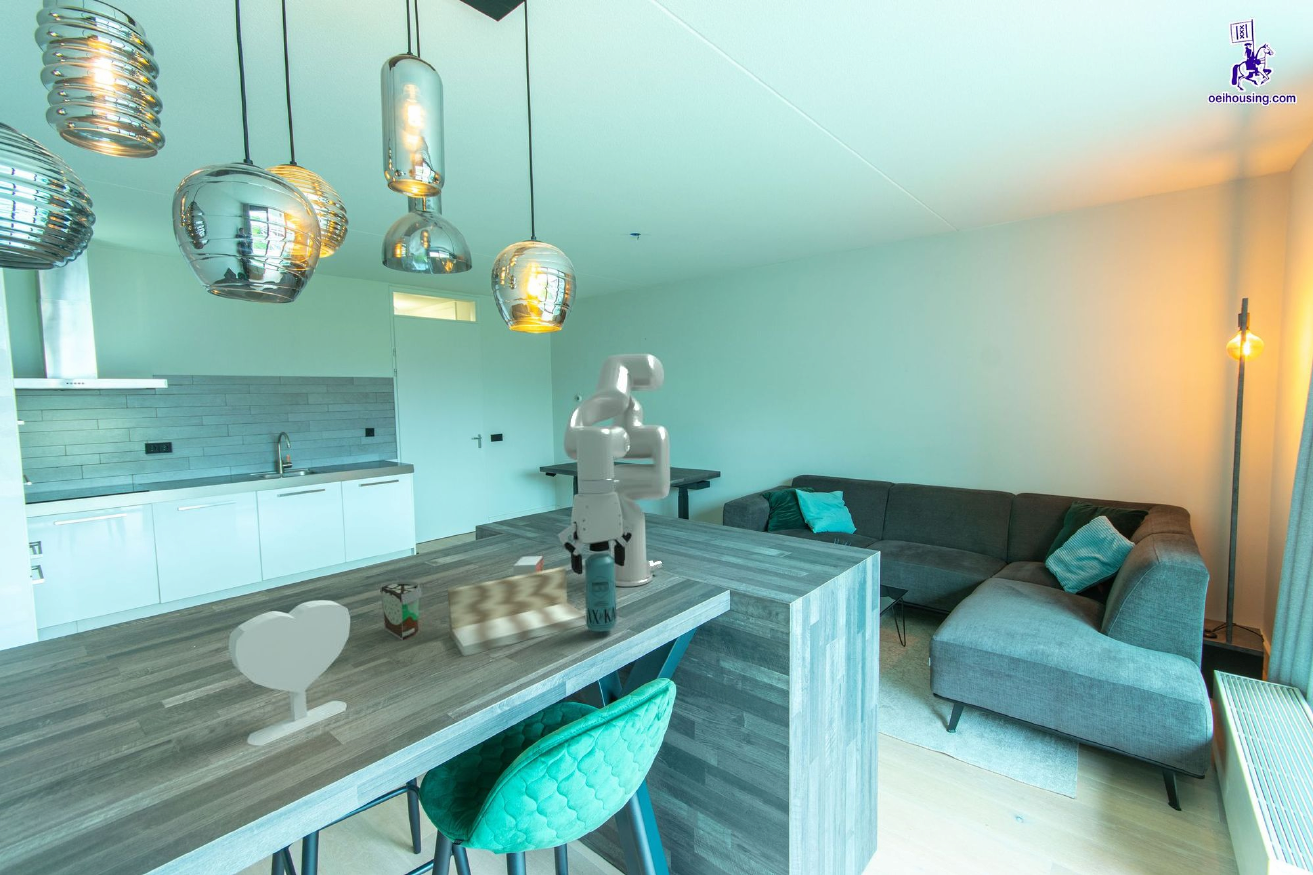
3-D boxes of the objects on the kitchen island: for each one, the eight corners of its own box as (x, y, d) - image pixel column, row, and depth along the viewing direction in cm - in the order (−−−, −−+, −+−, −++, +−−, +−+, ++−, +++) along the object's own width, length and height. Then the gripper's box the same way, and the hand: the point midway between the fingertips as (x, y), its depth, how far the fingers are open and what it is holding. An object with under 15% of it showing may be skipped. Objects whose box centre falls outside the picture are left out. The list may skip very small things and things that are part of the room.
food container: (434, 632, 121) (431, 587, 120) (405, 642, 116) (402, 595, 116) (409, 618, 129) (407, 576, 129) (382, 627, 125) (379, 583, 124)
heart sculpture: (345, 695, 95) (338, 592, 94) (358, 705, 92) (350, 598, 91) (234, 739, 83) (224, 622, 82) (244, 752, 80) (234, 630, 79)
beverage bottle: (582, 629, 120) (578, 537, 119) (612, 624, 122) (608, 533, 121) (591, 641, 114) (587, 544, 113) (622, 635, 116) (618, 540, 115)
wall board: (564, 608, 133) (562, 566, 132) (585, 624, 123) (583, 579, 122) (450, 635, 119) (447, 589, 118) (463, 656, 109) (461, 606, 108)
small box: (538, 608, 134) (536, 564, 133) (514, 608, 134) (512, 565, 133) (545, 596, 142) (543, 555, 141) (523, 596, 142) (521, 556, 141)
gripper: (624, 482, 124) (626, 558, 124) (550, 489, 115) (553, 572, 115) (641, 485, 117) (643, 565, 118) (564, 493, 108) (567, 580, 109)
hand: (599, 568), depth 117 cm, fingers open, 9 cm apart
